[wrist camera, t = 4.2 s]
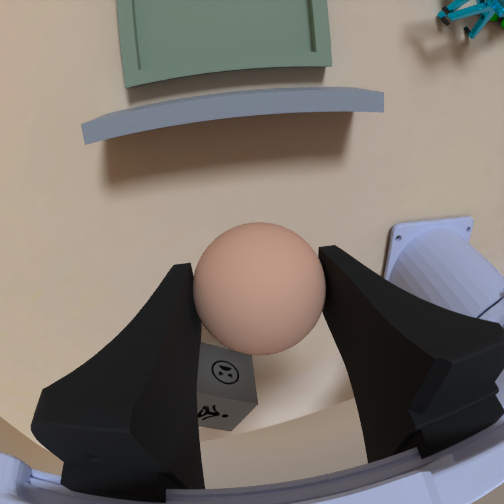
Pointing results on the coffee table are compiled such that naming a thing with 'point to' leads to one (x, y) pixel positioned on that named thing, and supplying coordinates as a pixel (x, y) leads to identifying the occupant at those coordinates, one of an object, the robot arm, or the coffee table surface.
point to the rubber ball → (259, 288)
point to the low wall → (231, 108)
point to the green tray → (219, 36)
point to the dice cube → (224, 387)
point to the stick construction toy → (474, 13)
